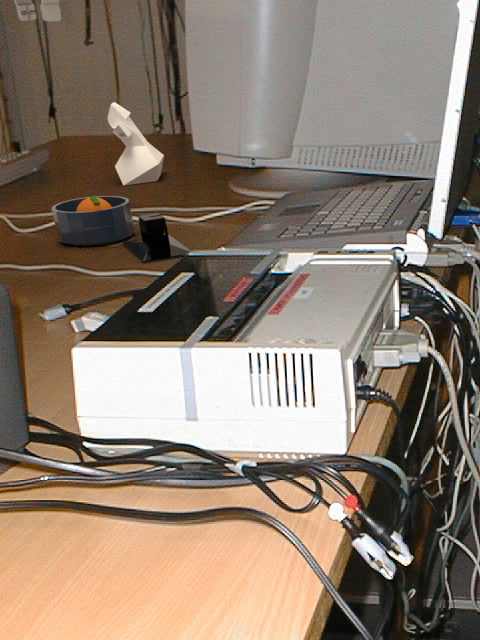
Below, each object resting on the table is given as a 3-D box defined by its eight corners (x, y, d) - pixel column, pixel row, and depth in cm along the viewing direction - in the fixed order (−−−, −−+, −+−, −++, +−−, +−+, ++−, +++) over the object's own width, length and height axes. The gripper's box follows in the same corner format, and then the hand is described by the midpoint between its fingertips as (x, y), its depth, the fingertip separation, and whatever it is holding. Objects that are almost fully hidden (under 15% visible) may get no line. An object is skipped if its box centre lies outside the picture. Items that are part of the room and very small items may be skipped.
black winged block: (193, 255, 125) (188, 221, 122) (141, 264, 122) (135, 229, 120) (169, 236, 134) (164, 204, 132) (120, 244, 132) (114, 211, 129)
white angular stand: (167, 170, 183) (156, 96, 176) (160, 184, 171) (147, 105, 164) (125, 173, 182) (112, 99, 175) (115, 187, 170) (100, 107, 163)
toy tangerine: (86, 248, 133) (83, 214, 128) (71, 225, 135) (68, 191, 131) (122, 240, 135) (121, 207, 131) (106, 219, 138) (105, 185, 133)
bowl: (74, 252, 129) (66, 216, 126) (49, 238, 137) (42, 204, 134) (146, 238, 134) (140, 203, 132) (119, 225, 142) (112, 192, 140)
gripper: (-42, -111, 107) (-10, 22, 114) (7, -130, 92) (39, 23, 99) (12, -111, 110) (40, 19, 117) (67, -130, 95) (95, 20, 102)
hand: (40, 21), depth 108 cm, fingers open, 8 cm apart
